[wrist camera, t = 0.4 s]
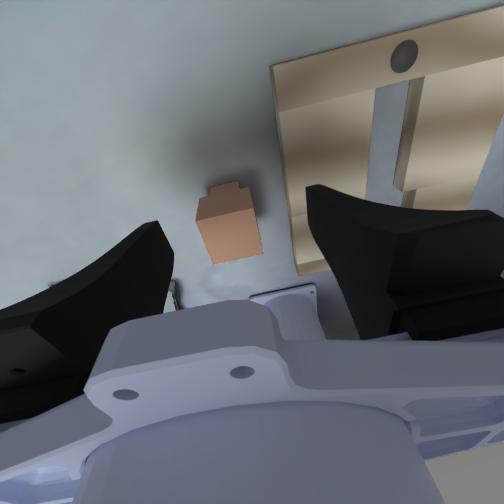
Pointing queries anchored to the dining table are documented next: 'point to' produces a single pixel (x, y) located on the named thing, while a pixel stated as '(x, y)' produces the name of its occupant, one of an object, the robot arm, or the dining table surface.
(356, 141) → the keyhole board
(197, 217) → the slider block
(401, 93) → the dining table surface
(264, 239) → the dining table surface
